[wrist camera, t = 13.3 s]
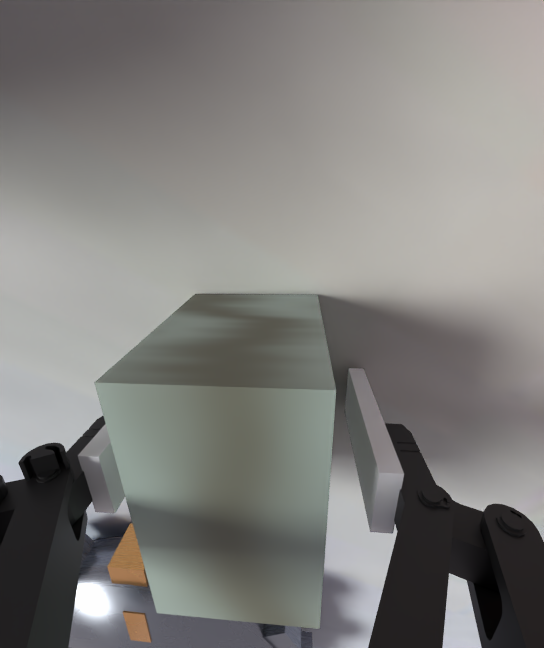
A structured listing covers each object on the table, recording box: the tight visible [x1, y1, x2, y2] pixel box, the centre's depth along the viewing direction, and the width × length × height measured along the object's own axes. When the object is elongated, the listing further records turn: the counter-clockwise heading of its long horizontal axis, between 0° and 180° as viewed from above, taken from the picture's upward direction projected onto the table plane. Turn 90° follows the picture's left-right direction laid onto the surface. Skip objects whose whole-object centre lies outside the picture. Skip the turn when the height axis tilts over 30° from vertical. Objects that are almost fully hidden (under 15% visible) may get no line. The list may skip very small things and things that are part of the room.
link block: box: [95, 294, 336, 629], centre depth 13 cm, size 6×10×8 cm, turn 1°
